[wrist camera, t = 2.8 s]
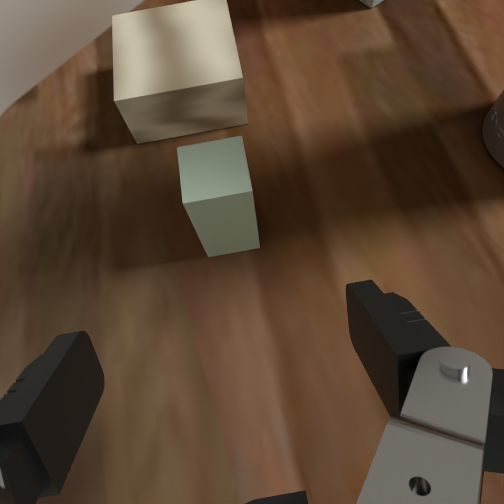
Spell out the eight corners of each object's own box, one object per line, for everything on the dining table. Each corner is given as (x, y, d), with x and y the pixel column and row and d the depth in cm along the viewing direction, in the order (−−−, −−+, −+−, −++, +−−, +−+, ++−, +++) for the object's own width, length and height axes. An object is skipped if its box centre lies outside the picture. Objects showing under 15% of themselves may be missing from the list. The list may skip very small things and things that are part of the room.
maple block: (232, 46, 37) (225, -5, 33) (248, 123, 33) (242, 77, 29) (133, 64, 37) (112, 15, 33) (137, 143, 33) (113, 101, 29)
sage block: (251, 203, 30) (241, 135, 23) (260, 248, 29) (252, 190, 21) (202, 211, 30) (176, 147, 23) (208, 257, 29) (182, 203, 21)
